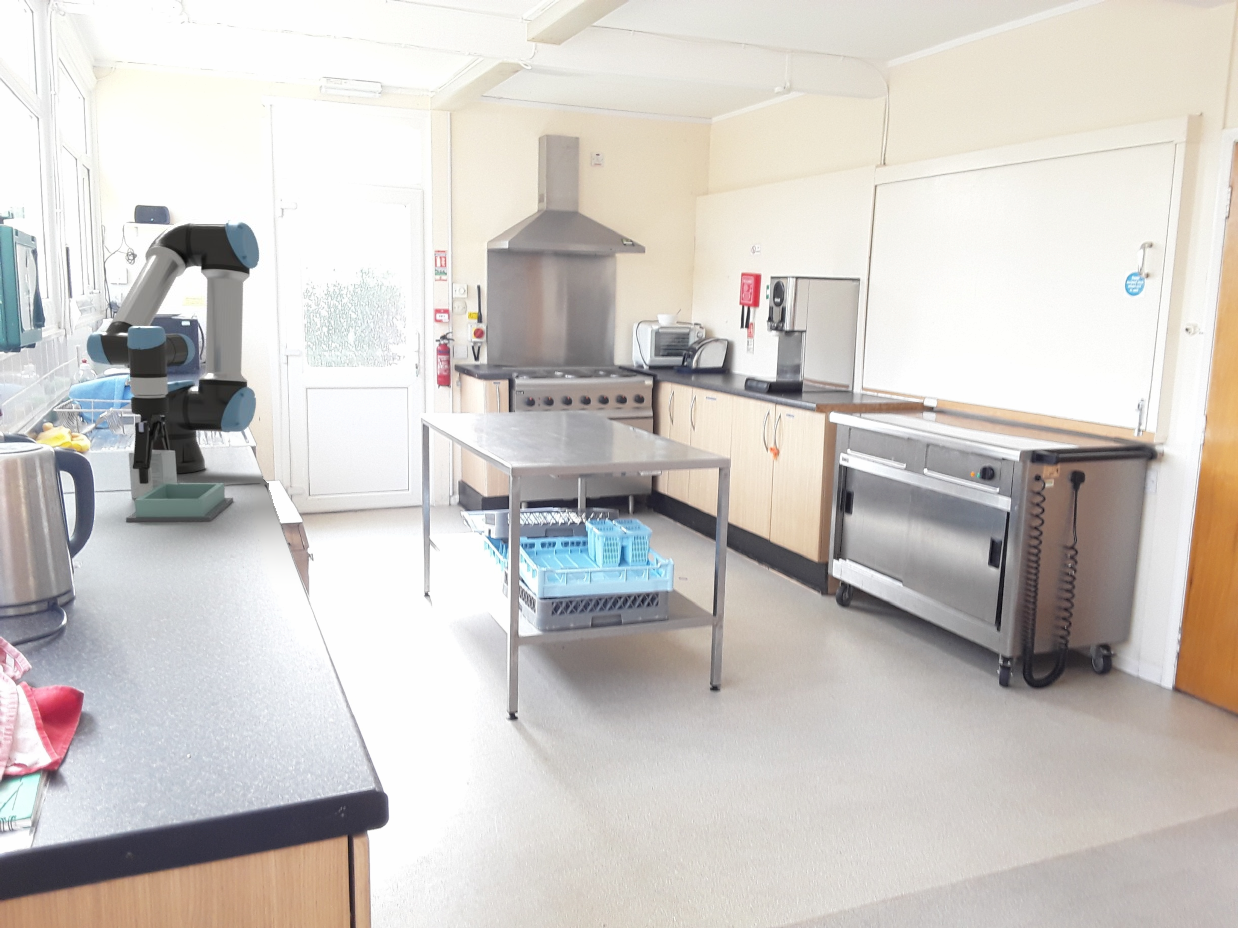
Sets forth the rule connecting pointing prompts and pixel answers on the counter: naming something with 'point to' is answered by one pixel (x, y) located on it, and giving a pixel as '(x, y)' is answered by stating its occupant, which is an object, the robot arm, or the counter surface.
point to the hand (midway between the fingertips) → (154, 492)
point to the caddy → (180, 503)
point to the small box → (155, 470)
